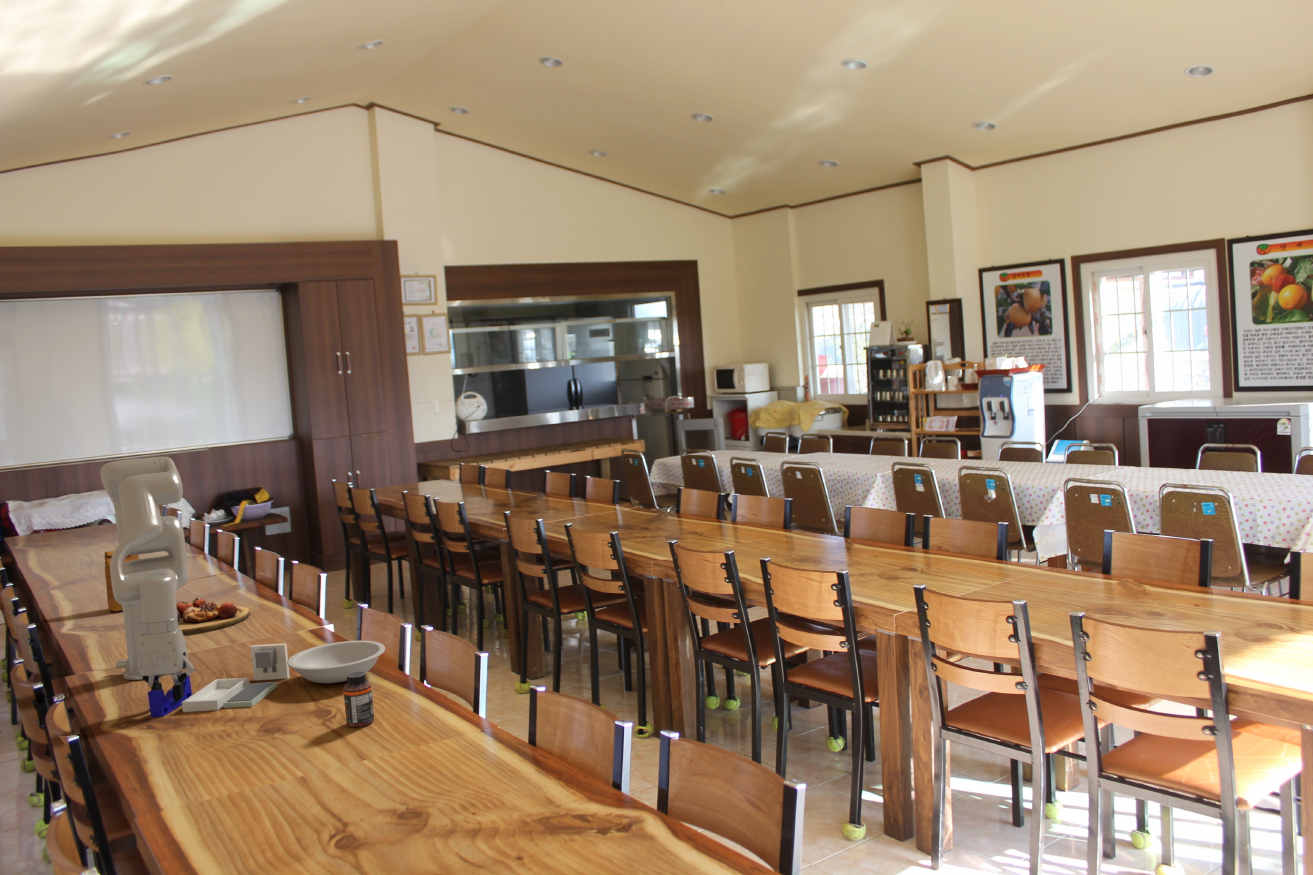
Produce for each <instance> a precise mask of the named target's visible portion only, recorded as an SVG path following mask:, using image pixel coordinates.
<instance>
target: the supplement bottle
mask: <svg viewBox="0 0 1313 875" xmlns="http://www.w3.org/2000/svg"><path fill="white" fill-rule="evenodd" d="M366 673H367V672H366ZM366 673H365V672H363V671H357V672H352V673H349V674H348V675H347V681H346V683H345V685H344V686H343V701H344V708H345V710H344V711H345V721H346V725H347V726H348V727H351V728H362V727H366V726H369V725H370V724H372V723H373V722H374V720H375V714H374V702H373V701H374V700H373V690H372V684H371V682H370V681H369V680H367V676H366V675H367V674H366Z"/></svg>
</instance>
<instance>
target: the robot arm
mask: <svg viewBox="0 0 1313 875" xmlns="http://www.w3.org/2000/svg"><path fill="white" fill-rule="evenodd" d="M100 479H101V480H100V481H101V483H102V486H103V488H104V490H105V492H106V494H107V495H108V497H109V498H110V500H111V503H112V505H113V509H114V515H115V524H116V534H117V543H118V544H117V546H116V548H115V549H114V550H113V551H114V553H113V555H112V558H111V562H110V574H111V582H112V589H113V594H114V598H115V600H116V601H117V603H119V604H120V605H122V608H123V611H122V613H123V614H122V615H123V622H124V630H125V639H126V640H125V641H126V649H127V650H126V651H127V659H126V658H123V659H119V658H118V659H117V660H116V663H115V664H116V665H115V668H116V669H124V670H125V671H124V672H123V674H122V675H123V679H125V680H130V681H132V680H133V681H136V680H137V681H138V680H143V681H144V682H146V683H147V686H148V687H149V688H150V691H151V690H163V685H162V682H160V678H161V677H160V676H170V675H171V678H172V680H173V684H175V685H172V688H173V698H174V701H175V702H178V701H179V700H181V699H182V698H183V696H184V688H183V682H184V681H185V679H186V678H187V677H188V676H190V675H191V674H193V673H194V671H196V666H194V664H193V663H192V662H191V661H190V660H189V654H188V649H187V643H186V639H185V636H184V634H183V633H182V630H181V629H179V627H178V617H177V608H176V605H177V601H176V600H177V599H176V594H177V591H178V590H179V588H182V587H183V586H185V585H186V584H187V583H188V579H189V568H188V559H187V550H186V541H185V531H184V527H183V524H182V522H181V520H180V519H179V518H178V517H176V516H175V515H174V516H173V515H164V516H162V515H161V509H160V506H162V505H168V504H169V505H171V504H178V503H179V502H180V501H182V499H183V493H184V490H183V489H184V488H183V481H182V478H181V476H180V473H179V471H178V468H177V466H176V464H175V462H174V460H173V459H172V458H171V457H168V456H155V457H142V458H130V459H121V460H115V461H110V462H108V463H105V464H104V465H102V467H101V468H100ZM161 552H166V553H167V555H166V554H165V555H159V556H153V557H152V556H151V557H144V558H139V559H136V560H131V561H128V562H125V563H123V562H124V559H125V558H126V557H127V556H128V555H138V556H139V555H145V554H147V555H148V554H153V553H161ZM183 670H185V671H184V672H183Z"/></svg>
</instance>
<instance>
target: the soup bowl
mask: <svg viewBox="0 0 1313 875" xmlns="http://www.w3.org/2000/svg"><path fill="white" fill-rule="evenodd" d="M385 650H386V647H385V645H384V644H383V643H381V642H378V641H377V642H376V641H374V640H346V641H338V642H332V643H326V644H321V645H317V646H313V647H310V648H307V649H303V650H302V651H299V652H297V653H295V654H292V655H291V656H290V657H288V661H287V664H288V666H289V668H291V669H293V670H295V671H296V672H297V673H298V675H300V676H301V677H302V678H304V679H306V680H308V681H310V682H313V683H316V684H335V683H341V682H342V683H343V682H347V675H348V674H349V673H352V672H357V671H363V672H365V673H367V672H369V671H370V670H371V669H372V668H373V667H374V665H375V664H376V663H377V661H378V659H379V657H380V656H381V655H383V654H384V652H385Z"/></svg>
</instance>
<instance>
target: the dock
mask: <svg viewBox="0 0 1313 875" xmlns="http://www.w3.org/2000/svg"><path fill="white" fill-rule="evenodd" d="M249 684H251V683H250V677H238V678H237V677H236V678H235V677H234V678H216V679H214V680H213V681H211V682H210V683H208V684H207V685H205V686H204V687H203V688H200V689H199V690H198V691H196V692H195V693H194V694H193V693H192V696H190V697H189V698H187V699H186V700H184V701H183V702H182V705H181V707H182V708H181V709H182V713H190V712H192V713H193V712H205V711H206V712H208V711H210V712H211V711H219V710H220V709H221V708H224V707H223V703H224V702H225V701H227V700H228V699H229V698H231V697H232V696H234V695H235V694H236V693H238V692H239V691H240V690H242V689H243V688H245V687H246V686H247V685H249Z"/></svg>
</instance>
